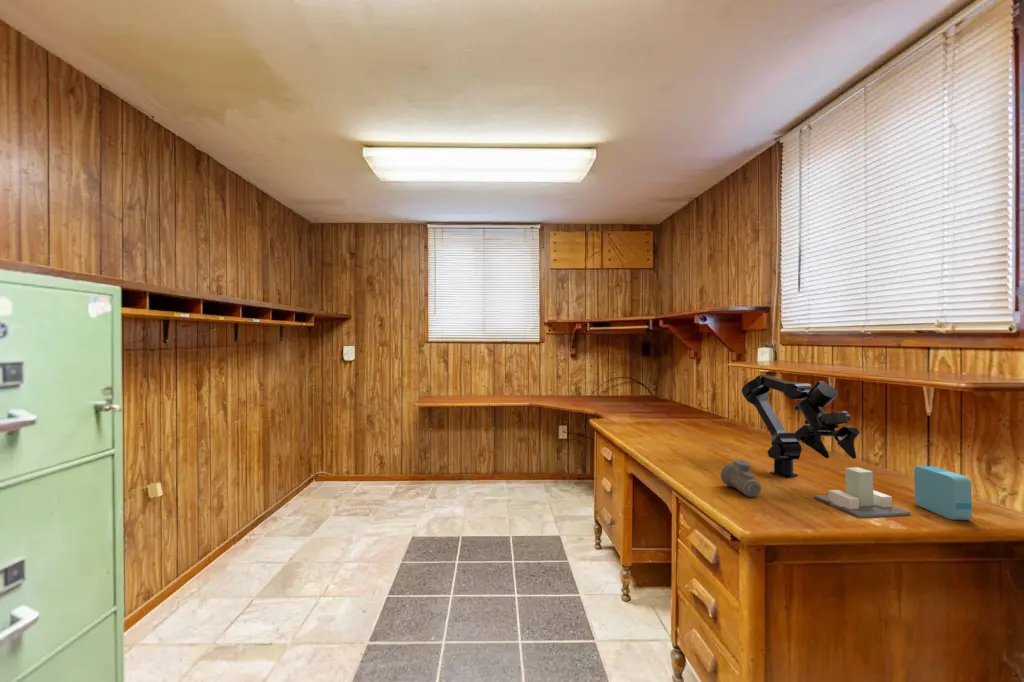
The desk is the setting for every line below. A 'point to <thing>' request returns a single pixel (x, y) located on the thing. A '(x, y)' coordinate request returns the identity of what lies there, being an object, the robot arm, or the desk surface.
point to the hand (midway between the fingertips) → (841, 458)
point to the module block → (860, 485)
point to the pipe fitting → (741, 478)
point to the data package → (943, 492)
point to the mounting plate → (865, 509)
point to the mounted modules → (853, 501)
